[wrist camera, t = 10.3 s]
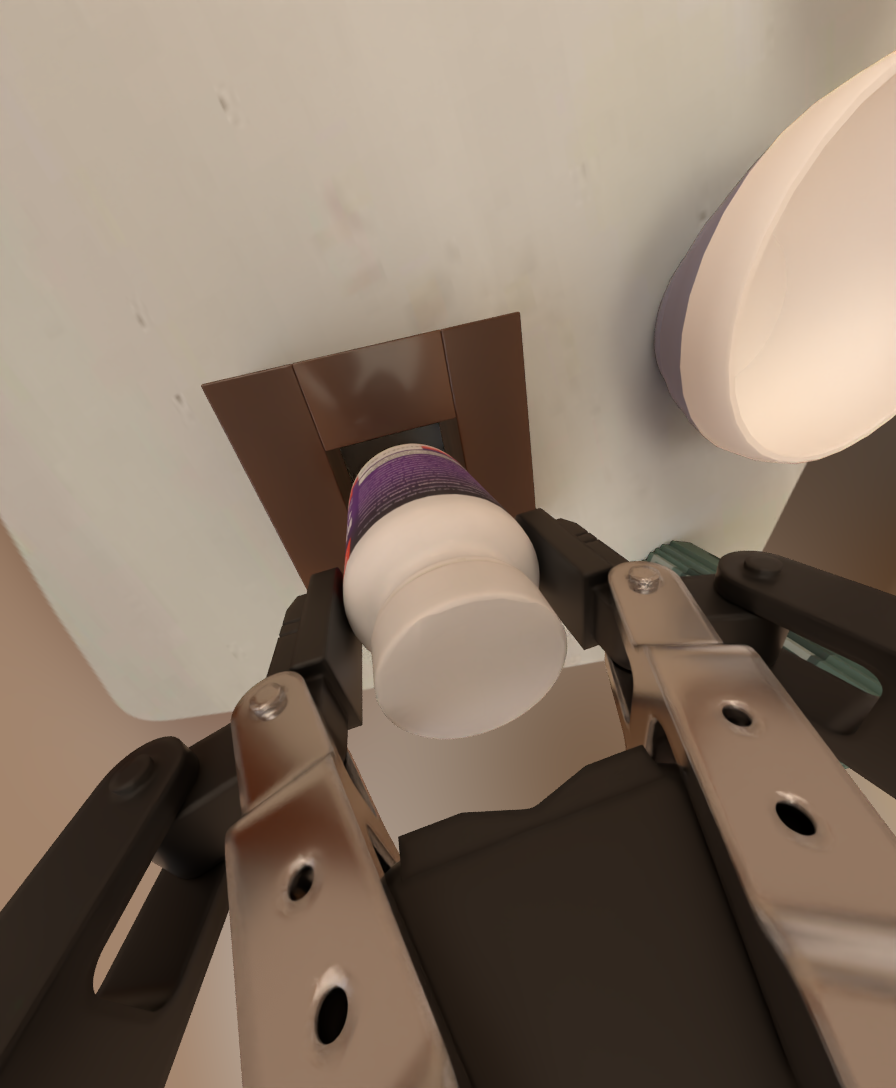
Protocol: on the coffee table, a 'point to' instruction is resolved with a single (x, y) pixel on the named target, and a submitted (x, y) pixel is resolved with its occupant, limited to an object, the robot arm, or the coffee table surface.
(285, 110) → the coffee table surface
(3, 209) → the coffee table surface
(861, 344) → the bowl
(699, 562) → the can
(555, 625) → the pill bottle
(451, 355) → the socket pad
